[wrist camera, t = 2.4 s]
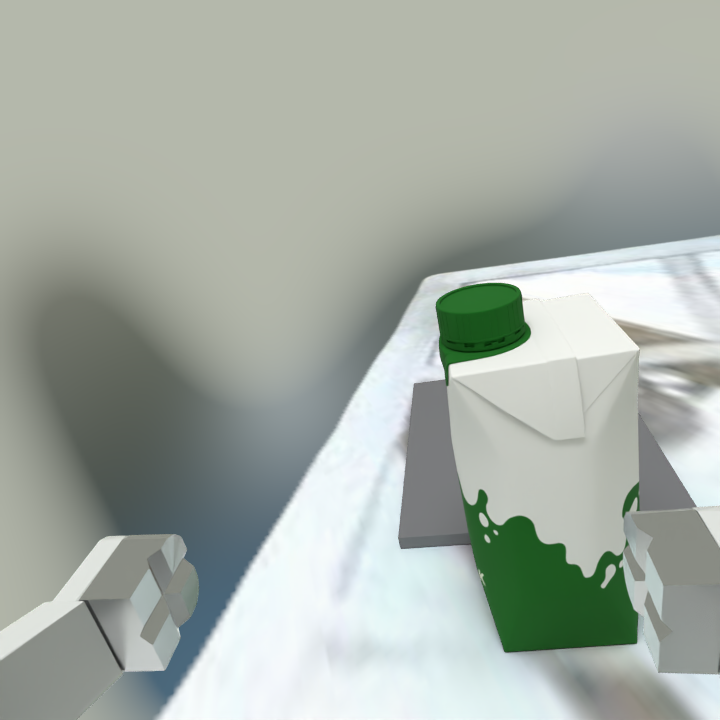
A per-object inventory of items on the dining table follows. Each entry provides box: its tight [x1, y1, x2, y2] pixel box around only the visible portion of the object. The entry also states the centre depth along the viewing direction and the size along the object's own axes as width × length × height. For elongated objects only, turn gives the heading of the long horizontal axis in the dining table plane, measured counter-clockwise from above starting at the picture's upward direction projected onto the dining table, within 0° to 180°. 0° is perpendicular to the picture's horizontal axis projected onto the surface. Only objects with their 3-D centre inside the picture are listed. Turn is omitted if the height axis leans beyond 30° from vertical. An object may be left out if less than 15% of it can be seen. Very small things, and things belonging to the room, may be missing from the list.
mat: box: [398, 380, 697, 549], centre depth 48 cm, size 20×24×1 cm
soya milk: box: [436, 283, 640, 652], centre depth 29 cm, size 9×9×20 cm
